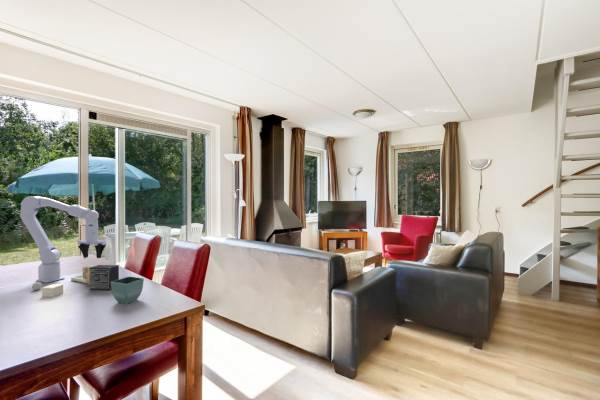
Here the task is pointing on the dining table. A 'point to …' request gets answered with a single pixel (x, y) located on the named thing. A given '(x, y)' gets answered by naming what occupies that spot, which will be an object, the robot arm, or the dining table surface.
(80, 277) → the tray
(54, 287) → the cream block
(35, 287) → the grey ball
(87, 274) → the peach rounded cylinder
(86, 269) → the maple block
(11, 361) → the dining table surface
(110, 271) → the small box
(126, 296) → the flower pot
